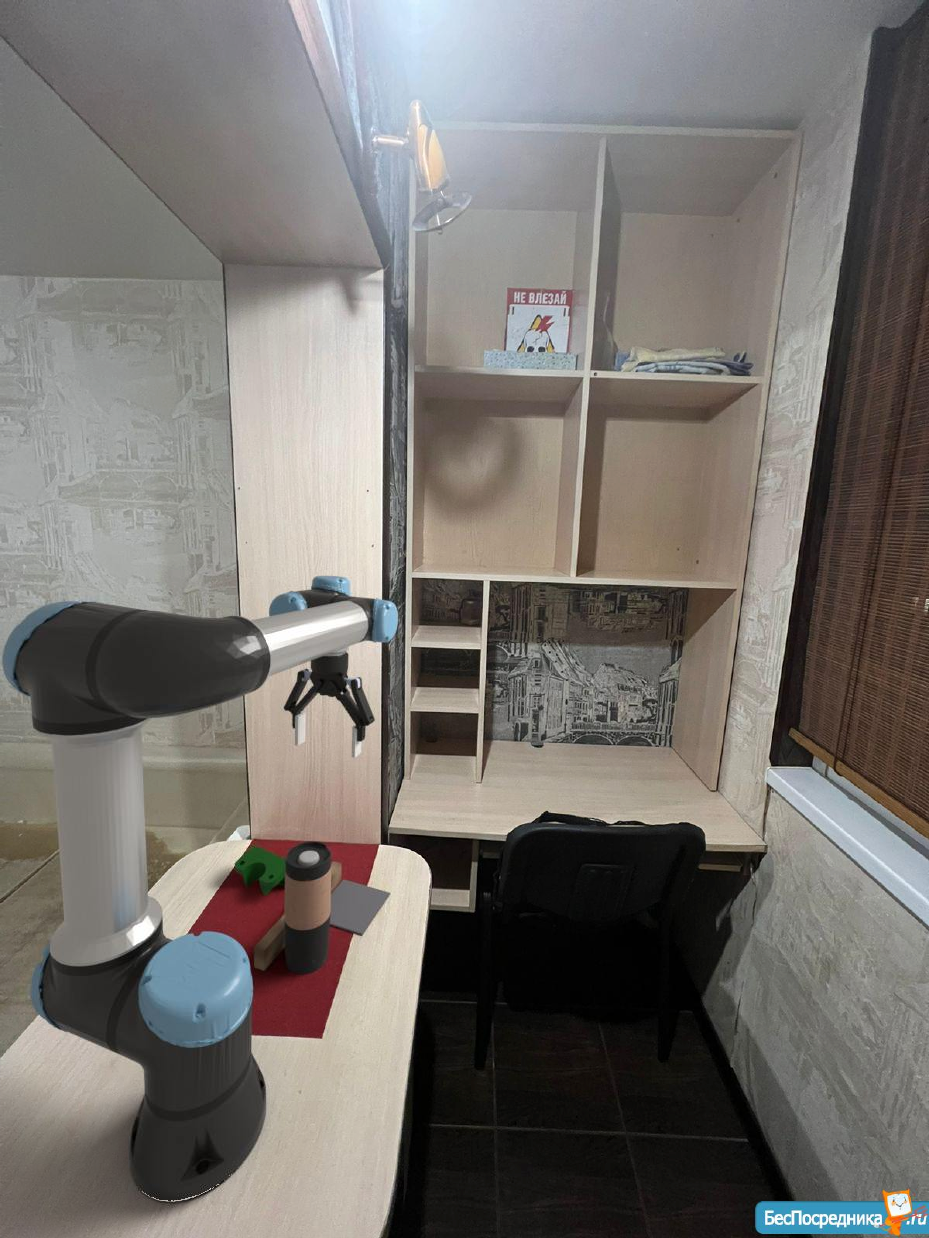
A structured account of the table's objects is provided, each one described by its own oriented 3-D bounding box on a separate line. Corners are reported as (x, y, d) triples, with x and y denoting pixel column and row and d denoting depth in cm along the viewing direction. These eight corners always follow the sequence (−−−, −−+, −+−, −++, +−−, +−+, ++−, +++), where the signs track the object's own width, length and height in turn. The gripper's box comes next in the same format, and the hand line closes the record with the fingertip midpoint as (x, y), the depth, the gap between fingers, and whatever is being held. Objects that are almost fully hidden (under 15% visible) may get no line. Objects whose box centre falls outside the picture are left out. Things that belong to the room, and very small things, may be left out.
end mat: (362, 935, 97) (362, 933, 97) (311, 919, 100) (311, 917, 100) (390, 894, 109) (390, 892, 109) (343, 880, 112) (343, 879, 112)
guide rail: (264, 970, 88) (264, 950, 88) (254, 967, 89) (254, 946, 88) (341, 880, 112) (341, 863, 111) (333, 877, 112) (333, 861, 112)
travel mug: (275, 971, 88) (276, 864, 85) (296, 937, 96) (297, 837, 92) (318, 979, 87) (321, 871, 84) (336, 944, 95) (338, 843, 92)
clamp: (247, 900, 110) (226, 865, 109) (268, 878, 115) (249, 844, 114) (281, 903, 104) (260, 866, 102) (302, 880, 109) (282, 844, 107)
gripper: (393, 655, 107) (389, 752, 111) (289, 640, 114) (288, 732, 118) (376, 663, 100) (372, 767, 104) (266, 647, 107) (266, 744, 111)
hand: (327, 749), depth 111 cm, fingers open, 13 cm apart
